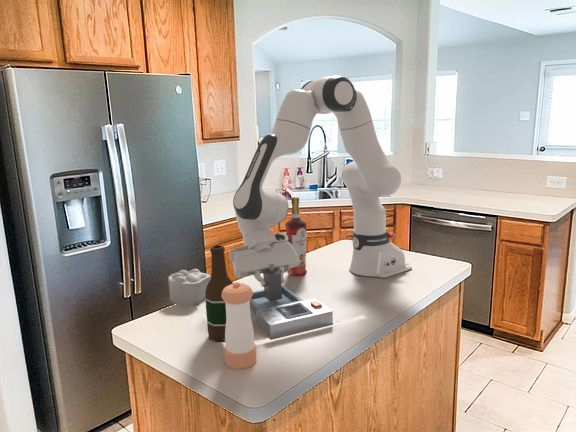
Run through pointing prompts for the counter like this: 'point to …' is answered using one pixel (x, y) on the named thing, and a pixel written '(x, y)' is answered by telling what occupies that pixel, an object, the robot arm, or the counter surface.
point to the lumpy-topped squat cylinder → (188, 287)
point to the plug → (272, 284)
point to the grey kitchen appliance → (294, 318)
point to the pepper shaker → (239, 327)
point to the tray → (261, 302)
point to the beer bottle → (217, 295)
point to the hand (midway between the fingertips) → (273, 283)
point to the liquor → (297, 238)
